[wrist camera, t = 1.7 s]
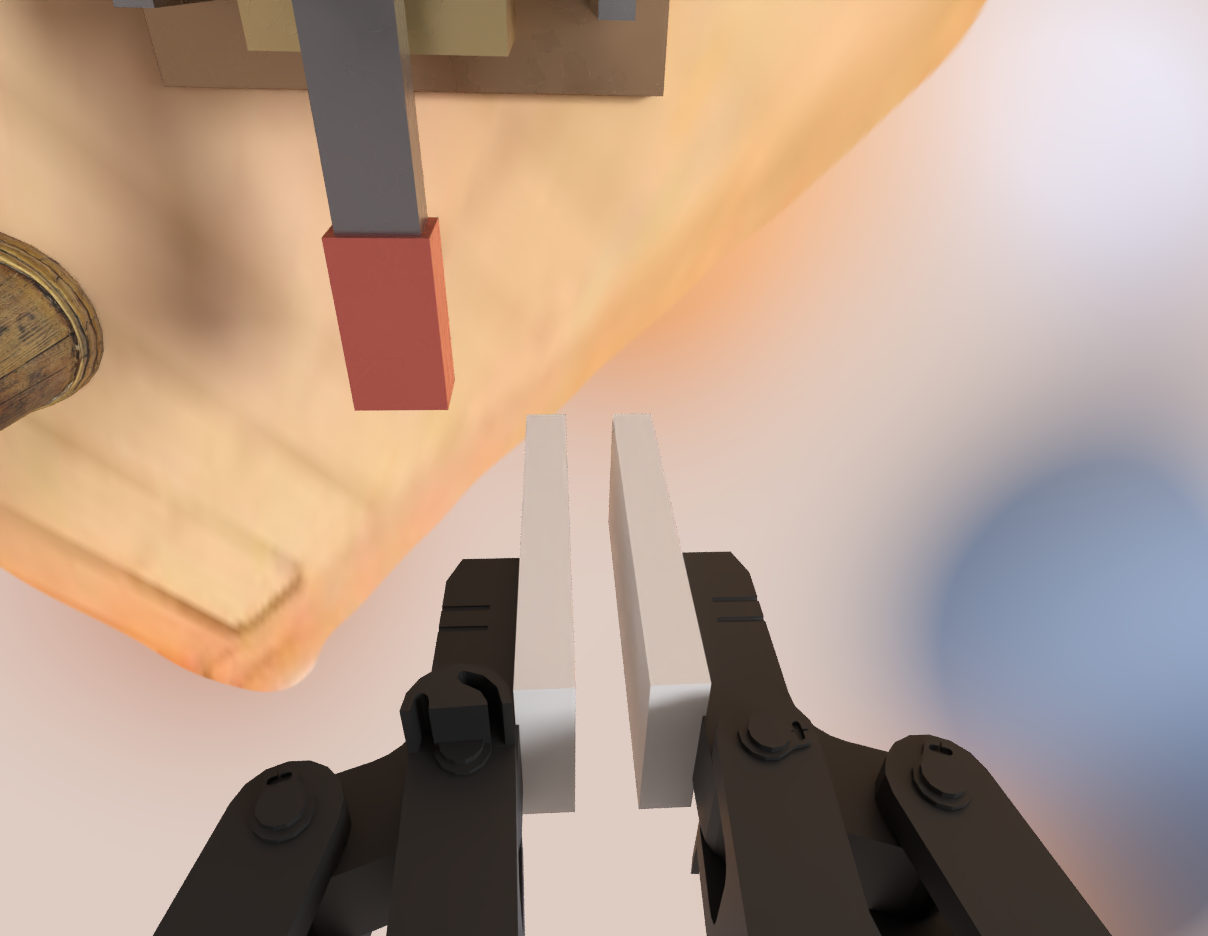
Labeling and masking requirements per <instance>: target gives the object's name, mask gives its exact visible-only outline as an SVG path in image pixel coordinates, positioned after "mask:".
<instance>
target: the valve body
mask: <svg viewBox="0 0 1208 936" xmlns="http://www.w3.org/2000/svg"><path fill="white" fill-rule="evenodd" d="M113 4H114V7H130V8H143V12H144V15H145V19H146V22H147V26H148V30H149V33H150V37H151V40H152V44H153V47H154V51H155V54H156V58H157V62H158V65H159V69H160V72H161V76H162V79H163V83H164V86H174V87H225V88H275V89H308V88H307V83H306V77H305V72H304V66H303V61H302V55H301V50H300V44H299V39H298V33H297V28H296V22H295V17H294V11H293V6H292V0H113ZM404 5H405V15H406V24H407V33H408V42H409V51H410V61H411V70H412V79H413V88H414V91H426V92H477V93H527V94H578V95H628V96H663V91H664V75H665V60H666V44H667V29H668V14H669V0H404Z"/></svg>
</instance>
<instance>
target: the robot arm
mask: <svg viewBox="0 0 1208 936" xmlns="http://www.w3.org/2000/svg"><path fill="white" fill-rule="evenodd" d="M567 468H568V466H567V438H566V415H565V414H563V415H562V414H551V415H527V419H526V440H525V461H524V481H523V502H522V522H521V543H520V558H500V559H463V560H462V561H461V562H460V564H459V565H458V566H457V568H456V569H455V571H454V572H453V573H452V574H451V576H450V577H449V579H448V580H447V581H446V587H445V594H444V599H443V605H442V611H441V617H440V624H439V632H438V636H437V642H436V648H435V654H434V660H433V666H432V672H430V673H428V674H427V675H425V676H423V677H421V678H420V679H419V680H418V681H417V682H416V683H415V684H414V685H413V686H412V688H411V689H410V690H409V691H408V692H407V693H406V695H405V698H404V701H403V703H402V706H401V709H400V716H401V720H402V725H403V730H404V735H405V739H406V742H405V743H404V744H403V745H402V746H400V747H399V748H397V749H396V750H394V751H393V752H391V753H390V754H389V755H386V756H384V757H382V758H380V759H377V760H375V761H373V762H370V763H367V764H364V765H361V766H358V767H356V768H352V769H349V770H346V771H343V772H340V773H337V774H334V773H333V772H332V771H331V770H330V769H329V768H328V767H327V766H324V765H321V764H318V763H316V762H313V761H289V762H286V763H283V764H280V765H277V766H275V767H272V768H269V769H266V770H265V771H263V772H262V773H261V774H259V775H258V776H256V777H255V778H254V779H252V780H251V781H249V782H248V783H246V784H245V785H244V787H243V788H242V789H241V790H240V792H239V793H238V794H237V795H236V796H235V798H234V799H233V800H232V802H231V803H230V804H229V806H228V807H227V809H226V811H225V813H224V814H223V816H222V818H221V820H220V822H219V823H218V825H217V826H216V828H215V830H214V832H213V833H212V835H211V837H210V838H209V840H208V842H207V844H206V845H205V847H204V849H203V850H202V852H201V854H200V856H199V858H198V859H197V861H196V862H195V864H194V866H193V868H192V869H191V871H190V873H189V874H188V876H187V878H186V880H185V881H184V883H183V885H182V886H181V888H180V890H179V892H178V893H177V895H176V897H175V898H174V900H173V902H172V904H171V905H170V907H169V909H168V910H167V912H166V914H165V916H164V917H163V919H162V921H161V922H160V924H159V926H158V928H157V929H156V931H155V933H154V935H153V936H371V933H372V931H374V930H377V929H379V928H382V927H384V926H386V925H388V926H387V934H386V936H525V925H524V878H523V847H522V814H534V813H535V814H536V813H558V812H575V704H576V701H575V700H576V687H575V686H576V685H575V659H574V630H573V604H572V575H571V548H570V521H569V494H568V469H567ZM609 531H610V540H611V550H612V560H613V569H614V578H615V587H616V598H617V607H618V617H619V625H620V635H621V645H622V655H623V664H624V674H625V683H626V692H627V702H628V711H629V721H630V730H631V739H632V749H633V759H634V768H635V778H636V787H637V797H638V805H639V809H649V808H669V807H670V808H672V807H691V802H692V795H693V790H694V793H695V799H696V804H697V810H698V816H699V825H698V830H697V836H696V841H695V846H694V853H693V858H692V869H691V870H692V871H691V874H699V873H700V882H701V890H702V898H703V907H704V916H705V925H706V933H707V936H1112V935H1111V934H1110V933H1109V931H1108V930H1107V929H1106V927H1105V926H1104V925H1103V923H1102V922H1101V921H1100V919H1099V918H1098V917H1097V915H1096V914H1095V913H1094V911H1093V910H1092V909H1091V907H1090V906H1089V905H1088V903H1087V902H1086V901H1085V899H1084V898H1083V897H1082V896H1081V894H1080V893H1079V891H1078V890H1077V889H1076V887H1075V886H1074V885H1073V883H1072V882H1071V881H1070V879H1069V878H1068V877H1067V875H1066V874H1065V873H1064V871H1063V870H1062V869H1061V867H1060V866H1059V865H1058V864H1057V862H1056V861H1055V859H1054V858H1053V857H1052V856H1051V854H1050V853H1049V851H1048V850H1047V849H1046V848H1045V846H1044V845H1043V844H1042V842H1041V841H1040V839H1039V838H1038V837H1037V835H1036V834H1035V833H1034V832H1033V830H1032V829H1031V827H1030V826H1029V825H1028V823H1027V822H1026V821H1025V820H1024V818H1023V817H1022V816H1021V814H1020V813H1019V811H1018V810H1017V809H1016V807H1015V806H1014V805H1013V804H1012V802H1011V801H1010V799H1009V798H1008V797H1007V796H1006V794H1005V793H1004V791H1003V790H1002V789H1001V787H1000V786H999V785H998V783H997V782H996V781H995V780H994V778H993V777H992V776H991V774H990V773H989V772H988V770H987V769H986V768H985V767H984V766H983V765H982V764H981V763H980V762H979V761H978V760H977V759H976V758H975V757H974V756H973V755H972V754H971V753H970V752H968V751H966V750H965V749H963V748H961V747H960V746H958V745H956V744H955V743H953V742H951V741H949V740H946V739H942V738H939V737H935V736H932V735H909V736H907V737H905V738H903V739H901V740H899V741H897V742H895V743H894V744H893V746H892V747H891V749H890V750H889V752H886V751H882V750H878V749H874V748H870V747H866V746H862V745H859V744H855V743H850V742H847V741H844V740H841V739H838V738H835V737H833V736H830V735H828V734H826V733H825V732H823V731H821V730H819V729H818V728H816V727H815V726H813V724H812V723H811V721H810V720H809V719H808V718H807V717H806V716H805V715H804V714H803V713H802V712H801V711H800V710H798V709H797V708H796V707H795V705H794V704H793V701H792V699H791V697H790V695H789V693H788V690H787V687H786V684H785V681H784V678H783V674H782V671H781V668H780V665H779V662H778V659H777V656H776V653H775V650H774V647H773V644H772V641H771V638H770V634H769V631H768V629H767V625H766V622H765V621H764V620H763V613H762V610H761V607H760V604H759V601H757V595H756V592H755V589H754V585H753V582H752V579H751V576H750V573H749V572H748V570H747V569H745V567H744V566H743V565H742V564H741V563H740V562H739V561H738V560H737V558H736V557H735V556H734V555H733V554H732V553H731V552H696V553H695V552H693V553H682V550H681V546H680V541H679V537H678V532H677V528H676V523H675V519H674V514H673V510H672V505H671V501H670V496H669V492H668V487H667V483H666V478H665V474H664V470H663V465H662V461H661V456H660V452H659V448H658V443H657V438H656V434H655V429H654V425H653V420H652V416H651V414H613V420H612V445H611V471H610V498H609Z"/></svg>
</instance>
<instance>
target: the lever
mask: <svg viewBox="0 0 1208 936" xmlns="http://www.w3.org/2000/svg"><path fill="white" fill-rule="evenodd" d="M292 6H293V11H294V17H295V22H296V28H297V33H298V39H299V44H300V50H301V55H302V61H303V66H304V72H305V77H306V83H307V88H308V93H309V99H310V104H311V110H312V115H313V121H314V126H315V132H316V137H317V143H318V148H319V154H320V159H321V165H322V170H323V176H324V181H325V187H326V192H327V198H328V203H329V209H330V214H331V220H332V226H331V227H330V228H329V229H328V231H327V232H326V233H325V234H324V236H323V237H322V242H323V247H324V252H325V258H326V263H327V268H328V273H329V278H330V284H331V289H332V294H333V299H334V304H335V310H336V315H337V320H338V325H339V330H340V336H341V341H342V346H343V351H344V356H345V361H346V367H347V372H348V377H349V382H350V387H351V393H352V398H353V403H354V408H355V410H448V408H449V403H450V399H451V394H452V390H453V385H454V381H455V378H454V368H453V358H452V348H451V338H450V328H449V319H448V309H447V299H446V289H445V279H444V269H443V259H442V249H441V239H440V229H439V219H438V218H434V217H427V208H426V198H425V189H424V180H423V171H422V162H421V152H420V143H419V134H418V125H417V116H416V107H415V97H414V88H413V79H412V70H411V61H410V51H409V42H408V33H407V24H406V15H405V5H404V0H292Z"/></svg>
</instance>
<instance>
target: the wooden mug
mask: <svg viewBox="0 0 1208 936" xmlns="http://www.w3.org/2000/svg"><path fill="white" fill-rule="evenodd" d="M102 355H103V336H102V329H101V326H100V323H99V320H98V318H97V315H96V312H95V310H94V307H93V305H92V304H91V302H90V301H89V299H88V298H87V296H86V295H85V293H84V292H83V290H82V289H81V287H80V286H79V284H78V283H77V282H76V281H75V280H74V279H73V278H72V277H71V276H70V275H69V274H68V273H67V272H66V271H65V270H64V269H63V268H62V267H61V266H60V265H59V264H58V263H57V262H56V261H54V260H53V259H51V258H50V257H48V256H47V255H45V254H44V253H42V252H41V251H39V250H38V249H36V248H35V247H33V246H31V245H29V244H27V243H24V242H22V241H20V240H17V239H15V238H13V237H10V236H8V235H6V234H3V233H0V431H1V430H3V429H4V428H6V427H8V426H9V425H11V424H13V423H14V422H16V421H18V420H19V419H21V418H23V417H24V416H26V415H27V414H29V413H31V412H34V411H37V410H40V409H43V408H46V407H48V406H51V405H54V404H56V403H58V402H60V401H62V400H64V399H66V398H68V397H70V396H72V395H73V394H74V393H75V392H77V391H78V390H79V389H81V388H82V387H83V386H85V385H86V384H87V383H88V382H89V381H90V379H91V378H92V377H93V375H94V374H95V373H96V372H97V370H98V368H99V365H100V361H101V358H102Z"/></svg>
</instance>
